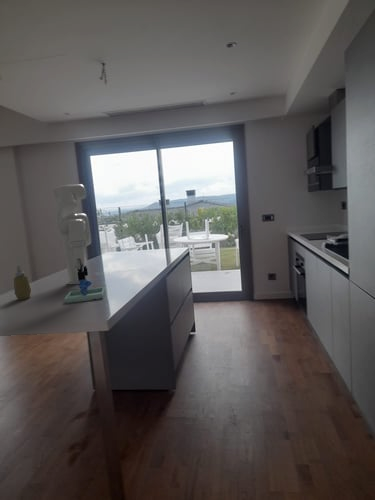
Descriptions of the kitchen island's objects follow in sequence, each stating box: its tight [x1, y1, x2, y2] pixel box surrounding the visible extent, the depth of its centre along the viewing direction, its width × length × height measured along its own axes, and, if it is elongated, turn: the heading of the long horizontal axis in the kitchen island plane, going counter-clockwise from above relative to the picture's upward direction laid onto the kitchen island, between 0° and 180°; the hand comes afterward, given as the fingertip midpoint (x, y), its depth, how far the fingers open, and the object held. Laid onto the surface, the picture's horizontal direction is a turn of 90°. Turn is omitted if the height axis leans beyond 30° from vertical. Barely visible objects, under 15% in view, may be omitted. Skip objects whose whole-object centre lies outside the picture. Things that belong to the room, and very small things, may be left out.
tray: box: [64, 286, 106, 304], centre depth 170 cm, size 14×18×2 cm
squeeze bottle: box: [13, 265, 32, 301], centre depth 179 cm, size 8×8×18 cm
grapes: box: [78, 276, 92, 296], centre depth 170 cm, size 12×7×12 cm, turn 12°
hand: (83, 277), depth 168 cm, fingers open, 9 cm apart
